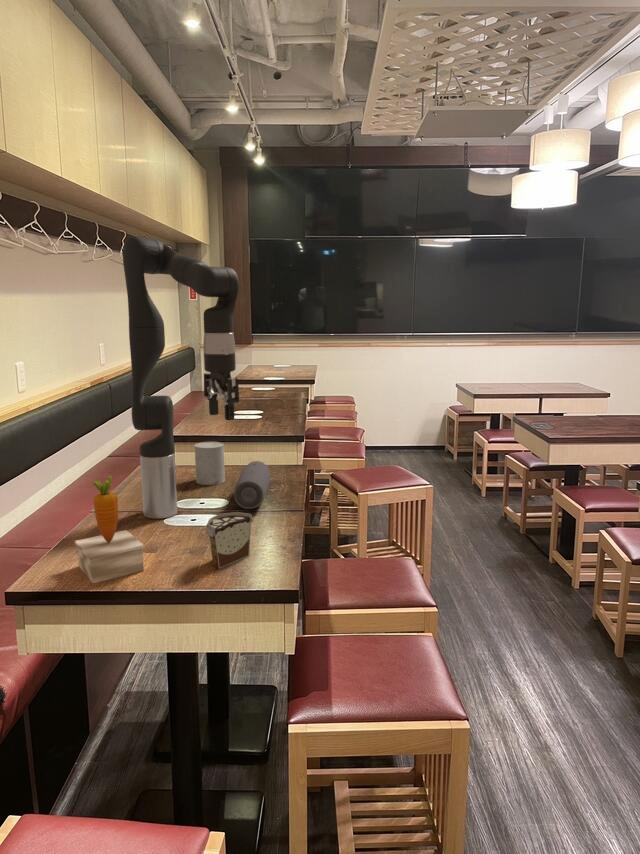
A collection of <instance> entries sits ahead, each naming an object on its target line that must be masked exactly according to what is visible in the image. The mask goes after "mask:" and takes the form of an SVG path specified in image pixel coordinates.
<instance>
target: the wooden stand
mask: <svg viewBox="0 0 640 854" xmlns="http://www.w3.org/2000/svg"><path fill="white" fill-rule="evenodd" d="M74 544H75V545H76V551H77V561H78V563H77V564H78V567H79V569H80V570H81V571H82V572H83V574H85V576H86V577H87V578H88V580H89V581H91V583H92V584H96V583H100V582H105V581H108V580H112V579H116V578H117V579H118V578H120V577H121V578H122V577H124V576H128V575H133V574H136V573H140V572H144V571H145V569H144V567H145V566H144V556H143V555H144V554H143V552H144V551H143V549H145V545H144V543H142V541H140V540H138V539H137V538H136V537H135V536H134V535H133V534H132V533H130V532H129V531H128V530H127V529H125V530H119V531H115V534H114V536H113V539H112V541H111V542H110V543H108V542H107V541H106V540H105V539H104V537H103V536H102V534H100V535H97V536H96V535H95V536H91V537H87V538H82V539H78V540H77V539H76V540H74Z"/></svg>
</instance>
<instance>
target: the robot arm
mask: <svg viewBox="0 0 640 854" xmlns="http://www.w3.org/2000/svg"><path fill="white" fill-rule="evenodd" d="M122 264H123V271H124V278H125V279H124V280H125V286H126V287H125V288H126V292H127V293H126V295H127V304H128V305H127V309H128V336H129V337H128V338H129V349H130V361H131V362H130V364H131V422H132V425H133V428H134V429H135V430H136V431H157V430H158V431H159V430H161V432H160V434H158V435H157V436H155V437H154V438H151V439H150V440H146V441H144V442H141V444H140V445H139V462H140V474H141V475H140V477H141V479H140V480H141V492H142V493H141V494H142V511H143V512H142V513H143V516H144V517H145V518H149V519H156V520H157V519H167V518H170V517H173V516H175V515H177V513H178V499H177V498H178V496H177V493H178V492H177V479H176V478H177V477H176V474H177V473H176V460H175V457H176V456H175V441H174V405H173V403H174V402H173V400H172V398H171V397H170V396H169V395H144V394H145V387H146V384H147V381H148V379H149V377H150V375H151V373H152V371H153V369H154V368H155V366H156V364H157V363H158V361H159V360H160V358H161V357H162V355H163V352H164V351H165V350H164V349H165V348H166V347H165V346H166V340H165V339H166V335H165V323H164V320H163V317H162V315H161V313H160V311H159V310H158V307H157V306H156V305H155V303H154V301H153V300H152V298H151V296H150V294H149V292H148V289H147V284H146V280H145V278H146V277H145V274H148V275H168V276H171V278H172V279H173V280H174V281H176V282H177V283H179V284H181V285H184V286H186V287H189V288H191V289H192V290H193V291H194V292H195V293H196V294H198V296H201V297H202V296H203V297H205V298H217V300H216V301H217V302H216V303H215V305H214V306H212V307H208V308H206V309H205V310H204V311H203V332H204V333H203V362H204V363H203V364H204V365H203V366H204V371H205V372H206V373H203V396H204V397H206V398H207V400H208V406H209V407H208V410H209V411H208V413H209V415H210V416H217V415H219V414H220V413H219V400H218V399H219V397H221V398H222V401H223V403H224V419H225V421H233V420H235V405H236V404H237V403H239V402H240V392H239V379H238V377H232V375H231V373H232V372H234V371H236V342H235V341H236V340H235V336H234V312H235V309H236V304H237V300H238V295H239V291H240V280H239V275H238V274H237V272H236V271H235V269H233V268H231V267H225V266H209V264H207V262H205V261H202V260H200V259H197V258H195V257H191V256H189V255H186V254H185V255H184V254H181V253H180V252H177V251H175V250H174V249H172V247H170V246H169V245H167V244H166V243H164V242H162V241H161V240H158V239H154V238H150V237H144V236H143V237H142V236H135V235H131V236H128V237H127V238H126V239H125V240H124V243H123V248H122Z"/></svg>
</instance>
